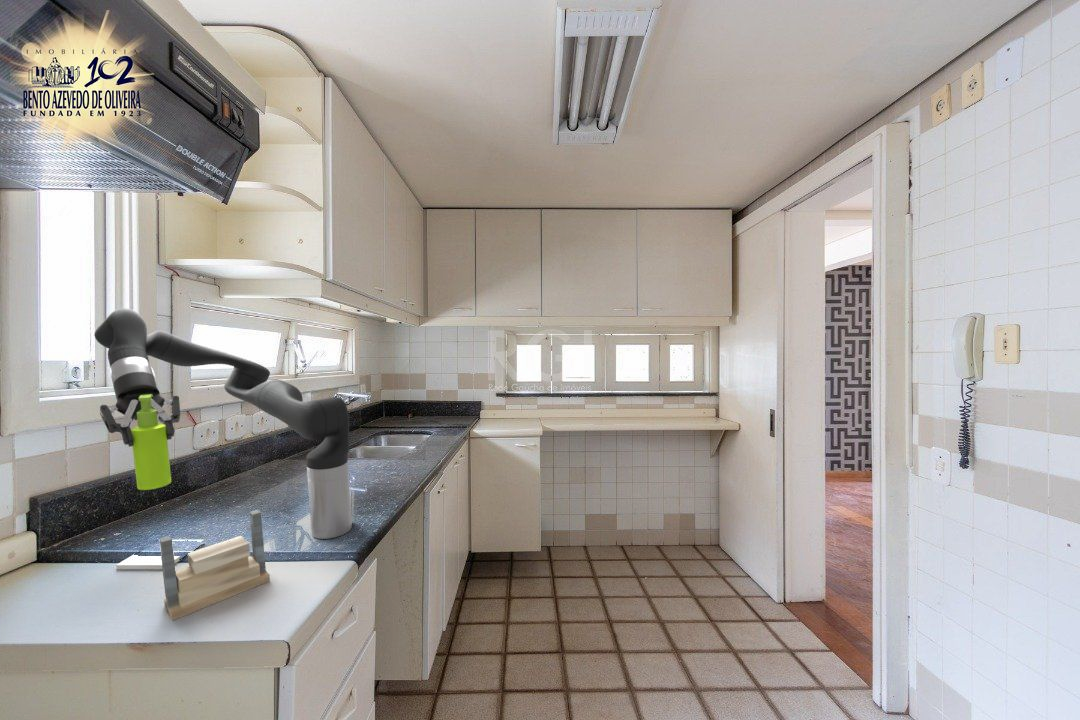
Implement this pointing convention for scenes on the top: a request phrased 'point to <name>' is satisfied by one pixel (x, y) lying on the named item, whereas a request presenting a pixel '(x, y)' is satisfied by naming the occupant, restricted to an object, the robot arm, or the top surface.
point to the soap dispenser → (150, 448)
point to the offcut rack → (213, 571)
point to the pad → (146, 561)
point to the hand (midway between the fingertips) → (150, 440)
